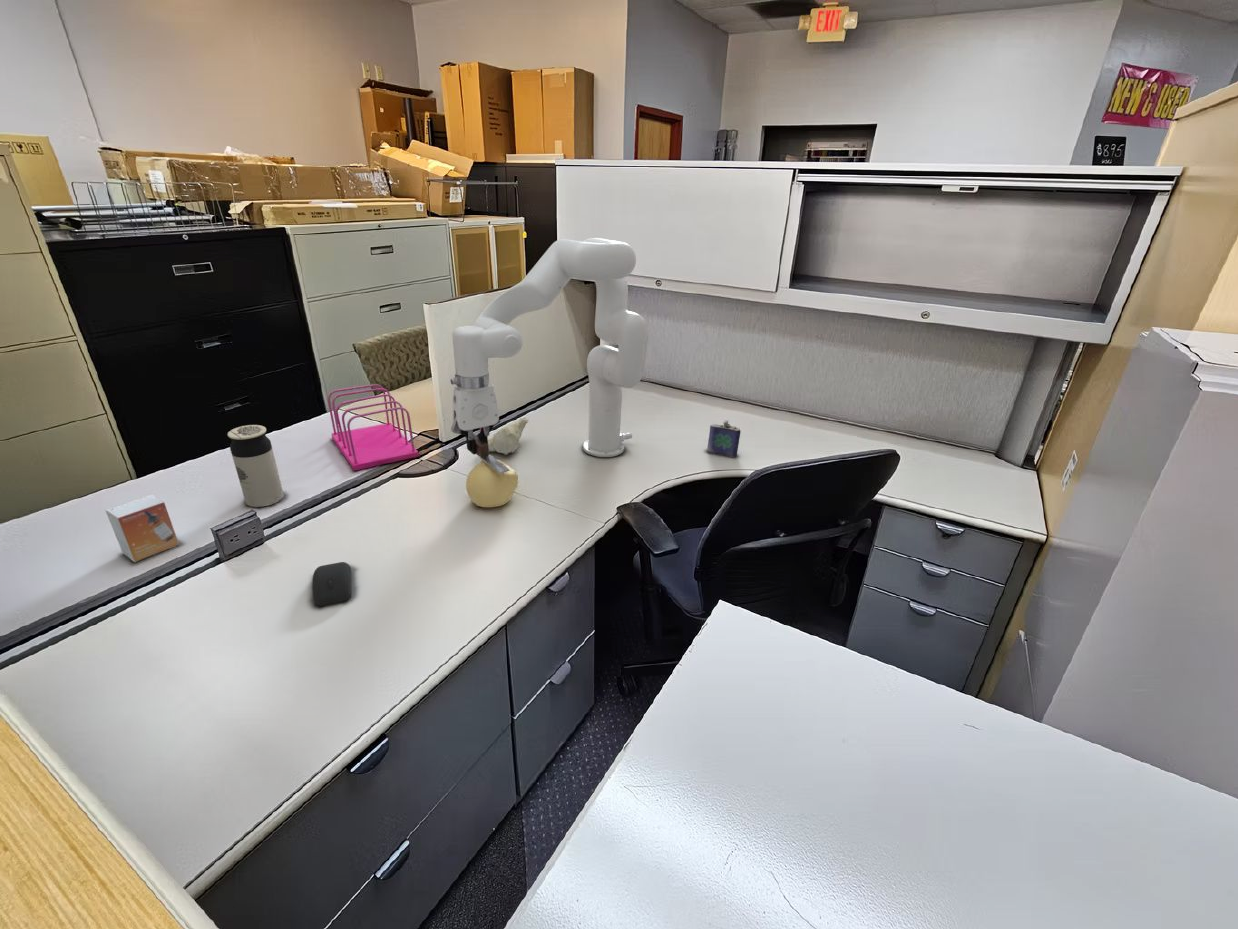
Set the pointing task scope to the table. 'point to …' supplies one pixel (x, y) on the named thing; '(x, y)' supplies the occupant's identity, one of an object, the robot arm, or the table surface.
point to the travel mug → (255, 465)
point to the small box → (142, 527)
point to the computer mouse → (332, 584)
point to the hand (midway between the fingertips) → (477, 450)
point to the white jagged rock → (507, 437)
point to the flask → (723, 439)
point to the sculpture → (491, 485)
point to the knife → (488, 456)
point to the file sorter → (372, 434)
